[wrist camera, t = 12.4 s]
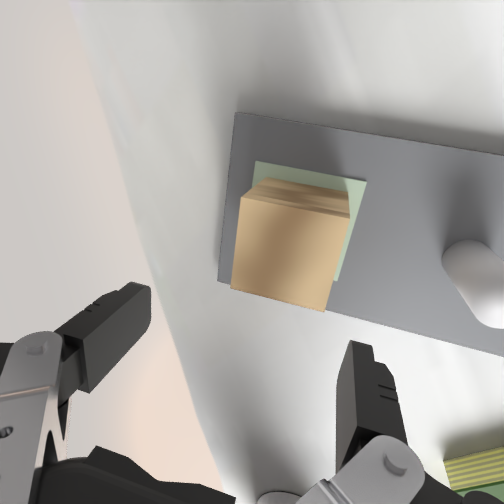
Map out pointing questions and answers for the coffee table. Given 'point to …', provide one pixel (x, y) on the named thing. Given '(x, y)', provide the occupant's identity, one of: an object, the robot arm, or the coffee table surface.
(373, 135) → the post board
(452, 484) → the hardcover book
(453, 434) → the coffee table surface
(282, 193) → the cardboard box
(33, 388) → the robot arm
